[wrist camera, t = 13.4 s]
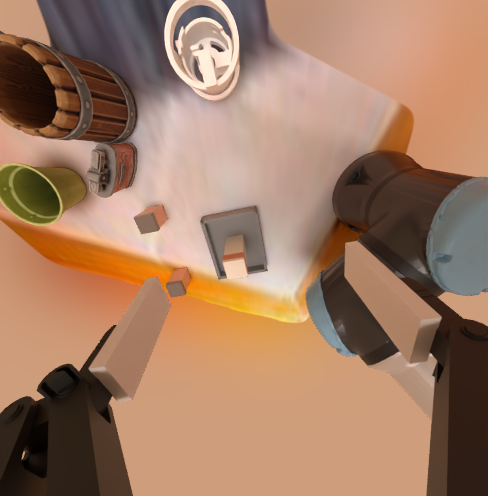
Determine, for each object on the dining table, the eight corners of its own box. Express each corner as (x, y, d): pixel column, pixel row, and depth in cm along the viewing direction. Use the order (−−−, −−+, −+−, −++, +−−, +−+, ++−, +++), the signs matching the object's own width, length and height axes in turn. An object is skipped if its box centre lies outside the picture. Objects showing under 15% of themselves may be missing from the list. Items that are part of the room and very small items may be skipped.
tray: (255, 206, 42) (256, 210, 40) (266, 264, 48) (267, 270, 46) (202, 216, 43) (200, 221, 41) (219, 272, 49) (218, 279, 47)
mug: (151, 104, 34) (93, 85, 21) (119, 157, 37) (53, 169, 24) (50, 11, 29) (-112, -95, 16) (24, 82, 32) (-125, 45, 19)
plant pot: (38, 194, 40) (-9, 207, 33) (45, 146, 37) (-7, 149, 29) (90, 217, 43) (57, 235, 35) (101, 175, 39) (67, 185, 31)
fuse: (243, 233, 44) (244, 258, 35) (246, 249, 46) (248, 276, 37) (225, 237, 44) (221, 262, 36) (229, 252, 46) (227, 280, 37)
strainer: (201, 110, 34) (177, 95, 21) (186, 55, 31) (147, -4, 18) (243, 99, 34) (246, 76, 21) (233, 41, 31) (227, -31, 17)
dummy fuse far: (187, 266, 48) (180, 283, 43) (191, 278, 50) (185, 294, 45) (173, 269, 49) (165, 285, 43) (178, 280, 50) (171, 297, 45)
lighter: (133, 190, 40) (103, 205, 31) (114, 183, 40) (78, 197, 31) (140, 146, 37) (108, 150, 28) (120, 138, 36) (81, 139, 27)
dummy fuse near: (162, 203, 41) (151, 214, 36) (168, 219, 43) (158, 230, 38) (147, 207, 42) (133, 217, 36) (153, 222, 43) (141, 234, 38)
